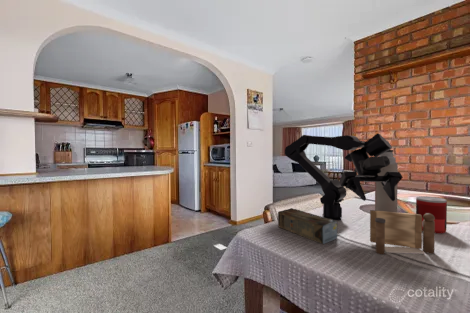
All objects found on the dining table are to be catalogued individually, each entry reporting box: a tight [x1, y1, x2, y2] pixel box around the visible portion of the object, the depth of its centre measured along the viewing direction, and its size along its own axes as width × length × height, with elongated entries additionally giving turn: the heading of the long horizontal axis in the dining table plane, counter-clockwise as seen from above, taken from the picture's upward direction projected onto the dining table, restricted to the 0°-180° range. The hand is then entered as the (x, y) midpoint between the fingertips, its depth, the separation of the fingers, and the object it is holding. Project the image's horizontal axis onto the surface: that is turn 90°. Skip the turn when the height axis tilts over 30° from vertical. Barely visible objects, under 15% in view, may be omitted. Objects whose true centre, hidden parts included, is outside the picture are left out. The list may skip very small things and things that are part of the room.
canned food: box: [415, 195, 448, 235], centre depth 77 cm, size 8×8×11 cm
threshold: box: [385, 246, 425, 255], centre depth 62 cm, size 10×3×1 cm, turn 84°
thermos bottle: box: [374, 149, 399, 212], centre depth 96 cm, size 8×8×28 cm
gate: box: [369, 209, 423, 250], centre depth 64 cm, size 12×1×9 cm, turn 66°
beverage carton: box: [277, 207, 338, 245], centre depth 77 cm, size 8×19×7 cm, turn 34°
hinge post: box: [422, 213, 436, 255], centre depth 61 cm, size 2×2×11 cm
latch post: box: [375, 218, 386, 255], centre depth 61 cm, size 2×2×9 cm
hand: (379, 200), depth 72 cm, fingers open, 9 cm apart
